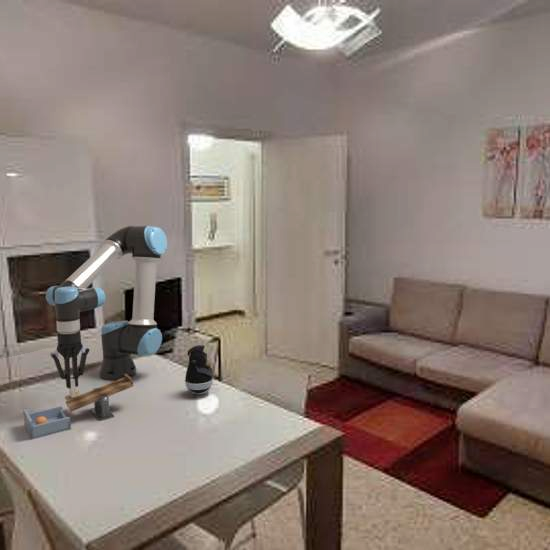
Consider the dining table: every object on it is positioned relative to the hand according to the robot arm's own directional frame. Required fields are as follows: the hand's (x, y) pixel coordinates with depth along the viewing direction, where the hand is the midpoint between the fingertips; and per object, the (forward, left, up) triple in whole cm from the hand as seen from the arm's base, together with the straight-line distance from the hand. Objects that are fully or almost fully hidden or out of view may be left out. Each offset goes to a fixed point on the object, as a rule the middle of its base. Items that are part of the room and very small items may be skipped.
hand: (72, 396), depth 176 cm
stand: (-8, +7, -6) cm, 12 cm away
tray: (+10, +7, -6) cm, 14 cm away
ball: (+12, +7, -4) cm, 14 cm away
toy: (-44, +12, -7) cm, 46 cm away
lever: (-8, +3, 0) cm, 8 cm away
